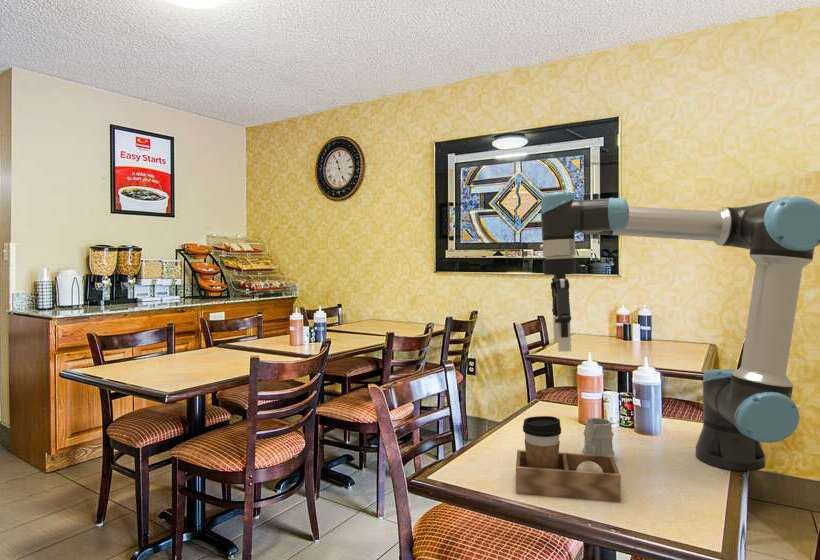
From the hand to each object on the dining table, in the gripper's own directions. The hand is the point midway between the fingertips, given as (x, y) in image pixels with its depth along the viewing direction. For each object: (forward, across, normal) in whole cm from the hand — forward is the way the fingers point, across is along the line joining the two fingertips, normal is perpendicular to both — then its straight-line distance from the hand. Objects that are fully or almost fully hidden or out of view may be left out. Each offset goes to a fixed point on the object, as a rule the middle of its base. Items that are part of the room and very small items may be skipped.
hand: (562, 346), depth 125 cm
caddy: (+31, +10, -1) cm, 32 cm away
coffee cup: (+30, +9, -6) cm, 32 cm away
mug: (+31, -9, +8) cm, 34 cm away
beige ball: (+30, +10, +4) cm, 32 cm away
